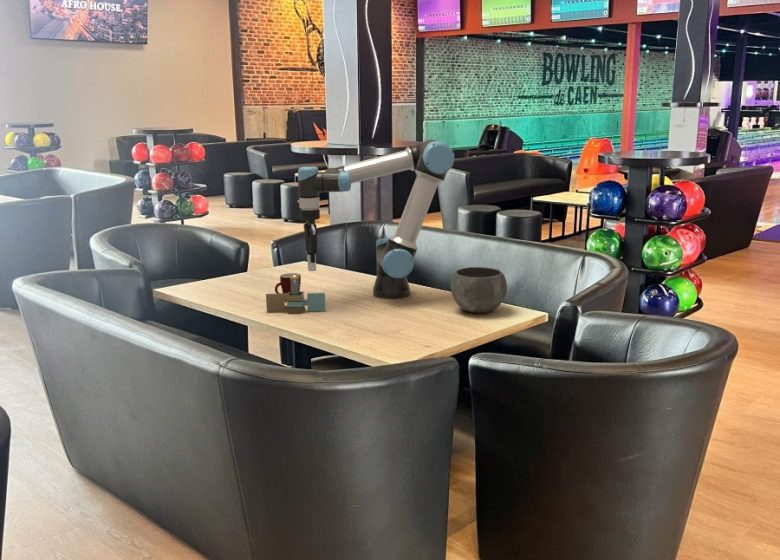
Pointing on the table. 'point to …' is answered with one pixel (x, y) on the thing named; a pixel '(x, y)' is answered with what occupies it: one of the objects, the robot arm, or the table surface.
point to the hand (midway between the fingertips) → (312, 270)
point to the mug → (286, 283)
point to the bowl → (478, 289)
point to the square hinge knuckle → (277, 303)
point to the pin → (295, 286)
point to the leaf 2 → (311, 302)
